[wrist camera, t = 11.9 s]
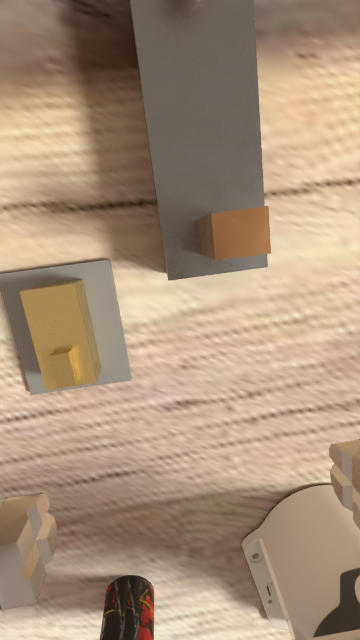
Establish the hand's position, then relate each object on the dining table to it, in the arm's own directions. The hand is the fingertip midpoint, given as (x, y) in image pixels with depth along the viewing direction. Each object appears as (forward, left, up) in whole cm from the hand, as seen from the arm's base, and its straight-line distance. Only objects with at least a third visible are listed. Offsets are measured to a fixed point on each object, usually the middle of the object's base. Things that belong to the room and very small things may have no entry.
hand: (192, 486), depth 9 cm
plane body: (+16, -4, -22) cm, 28 cm away
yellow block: (0, +10, -22) cm, 24 cm away
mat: (0, +10, -22) cm, 24 cm away
